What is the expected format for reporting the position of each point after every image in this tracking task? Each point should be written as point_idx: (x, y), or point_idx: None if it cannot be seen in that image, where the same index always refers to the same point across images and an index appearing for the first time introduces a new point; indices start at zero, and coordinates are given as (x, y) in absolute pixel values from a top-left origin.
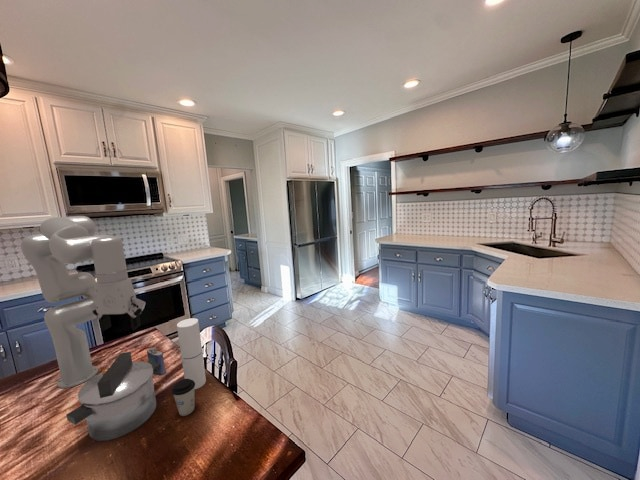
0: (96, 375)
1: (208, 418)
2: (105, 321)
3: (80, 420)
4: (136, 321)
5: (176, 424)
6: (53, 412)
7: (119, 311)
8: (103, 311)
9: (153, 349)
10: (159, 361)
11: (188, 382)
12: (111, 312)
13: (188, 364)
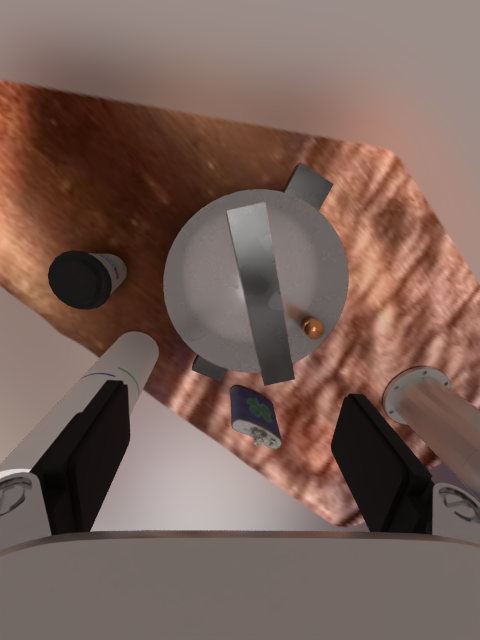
0: (336, 320)
1: (43, 237)
2: (371, 466)
3: (289, 178)
4: (55, 443)
5: (111, 230)
6: (404, 301)
7: (83, 597)
8: (443, 606)
9: (258, 438)
10: (236, 407)
11: (59, 286)
12: (270, 571)
13: (107, 363)
